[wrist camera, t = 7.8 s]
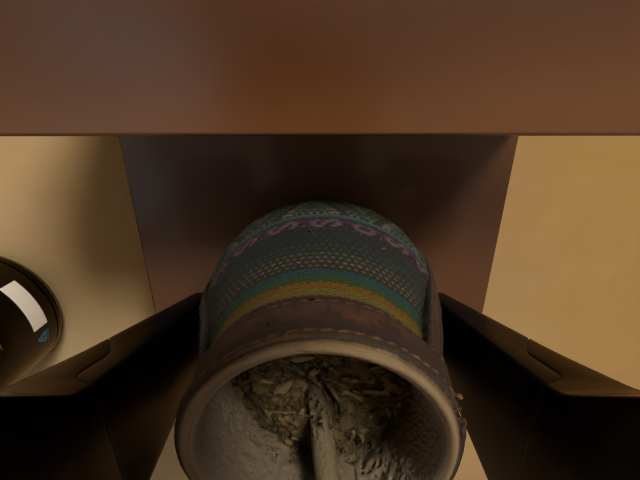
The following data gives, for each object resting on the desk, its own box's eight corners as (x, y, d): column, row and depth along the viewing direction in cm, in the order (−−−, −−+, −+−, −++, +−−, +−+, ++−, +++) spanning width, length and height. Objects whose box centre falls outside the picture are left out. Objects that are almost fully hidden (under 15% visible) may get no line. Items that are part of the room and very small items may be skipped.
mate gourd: (374, 145, 12) (563, 282, 3) (436, 313, 15) (643, 682, 5) (197, 223, 13) (-108, 516, 4) (284, 367, 16) (230, 754, 6)
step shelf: (447, 333, 19) (533, 486, 11) (190, 334, 19) (104, 487, 11) (503, -6, 13) (756, -158, 5) (133, -6, 13) (-123, -158, 5)
